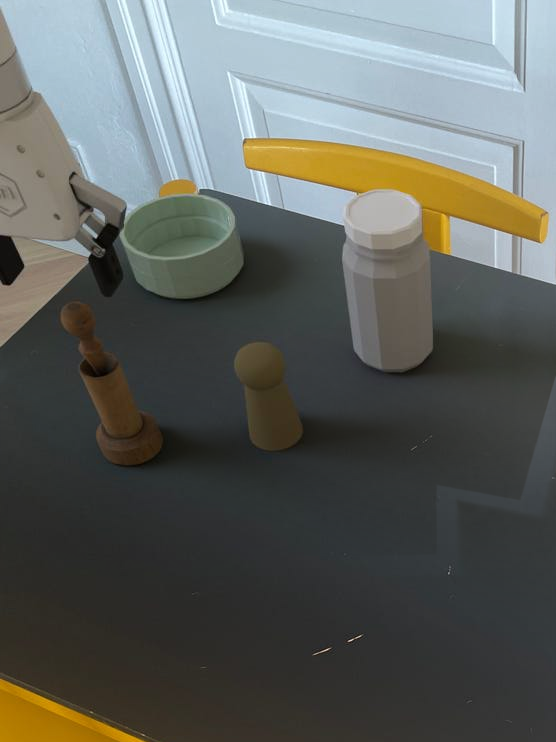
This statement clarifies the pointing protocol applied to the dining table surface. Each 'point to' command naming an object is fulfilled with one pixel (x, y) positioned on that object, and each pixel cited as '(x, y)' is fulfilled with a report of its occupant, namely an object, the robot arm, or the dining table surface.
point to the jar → (388, 280)
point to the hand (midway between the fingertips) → (63, 282)
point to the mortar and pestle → (111, 395)
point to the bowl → (183, 245)
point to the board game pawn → (267, 397)
